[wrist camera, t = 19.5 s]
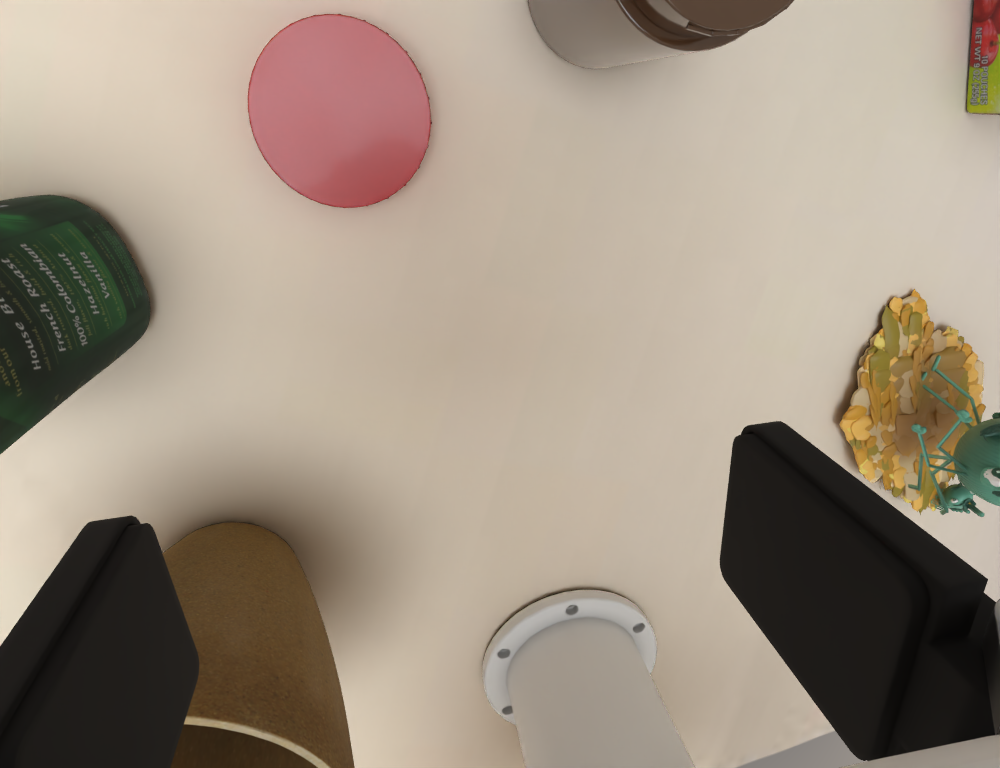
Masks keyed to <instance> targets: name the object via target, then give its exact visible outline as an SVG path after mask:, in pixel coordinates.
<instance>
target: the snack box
mask: <svg viewBox="0 0 1000 768" xmlns="http://www.w3.org/2000/svg"><path fill="white" fill-rule="evenodd" d="M967 111H968V112H969V113H974V114H990V115H1000V0H974V8H973V22H972V38H971V51H970V67H969V81H968V95H967Z"/></svg>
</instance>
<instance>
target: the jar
mask: <svg viewBox="0 0 1000 768" xmlns="http://www.w3.org/2000/svg"><path fill="white" fill-rule="evenodd" d="M793 1H794V0H528V3H529V8H530V12H531V15H532V18H533V21H534V23H535V25H536V28H537V30H538V32H539V33H540V35H541V37H542V38H543V40H544V41H545V42H546V43H547V45H548V46H549V47H550V48H551V49H552V50H553V51H554V52H555V53H556V54H557V55H559V56H560V57H561V58H563V59H564V60H566V61H568V62H570V63H572V64H574V65H577V66H580V67H583V68H589V69H603V68H610V67H616V66H621V65H627V64H633V63H638V62H644V61H649V60H655V59H661V58H666V57H672V56H677V55H683V54H689V53H694V52H700V51H705V50H710V49H714V48H717V47H721V46H723V45H726V44H728V43H730V42H732V41H734V40H736V39H738V38H739V37H741V36H742V35H744V34H746V33H747V32H748V31H749V30H751V29H754V28H757V27H759V26H762V25H764V24H766V23H767V22H768V21H770V20H771V19H773V18H774V17H775V16H777V15H778V14H779V13H781V12H782V11H784V10H785V9H787V8H788V7H789V5H790V4H791V3H792V2H793Z"/></svg>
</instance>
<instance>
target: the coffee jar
mask: <svg viewBox="0 0 1000 768" xmlns="http://www.w3.org/2000/svg"><path fill="white" fill-rule="evenodd" d="M149 319H150V302H149V297H148V293H147V290H146V288H145V285H144V282H143V279H142V277H141V275H140V273H139V271H138V269H137V266H136V264H135V262H134V260H133V258H132V256H131V254H130V253H129V251H128V249H127V247H126V245H125V244H124V242H123V241H122V240H121V238H120V237H119V235H118V234H117V232H116V231H115V230H114V229H113V227H112V226H111V225H110V224H109V222H107V221H106V220H105V219H104V218H103V217H102V216H101V215H100V214H99V213H98V212H96V211H95V210H93V209H91V208H90V207H88V206H87V205H85V204H83V203H81V202H79V201H77V200H74V199H70V198H67V197H62V196H55V195H40V196H30V197H22V198H14V199H8V200H2V201H0V454H1V453H3V452H4V451H5V450H6V449H7V448H8V447H9V446H11V445H12V444H13V443H14V442H15V441H17V440H18V439H19V438H20V437H21V436H23V435H24V434H25V433H26V432H27V431H29V430H30V429H31V428H32V427H33V426H35V425H36V424H37V423H38V422H39V421H41V420H42V419H43V418H44V417H45V416H47V415H48V414H49V413H50V412H52V411H53V410H54V409H55V408H56V407H57V406H59V405H60V404H61V403H62V402H63V401H65V400H66V399H67V398H68V397H70V396H71V395H72V394H73V393H74V392H75V391H77V390H78V389H79V388H81V387H82V386H83V385H84V384H86V383H87V382H88V381H90V380H91V379H92V378H93V377H95V376H96V375H97V374H98V373H100V372H101V371H102V370H103V369H105V368H106V367H108V366H109V365H110V364H111V363H113V362H114V361H115V360H116V359H117V358H119V357H120V356H121V355H122V354H123V353H125V352H126V351H127V350H128V349H129V348H131V347H132V346H133V345H134V344H135V343H136V342H137V341H138V340H139V339H140V338H141V337H142V335H143V334H144V332H145V331H146V329H147V326H148V324H149Z"/></svg>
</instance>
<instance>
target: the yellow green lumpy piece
mask: <svg viewBox="0 0 1000 768" xmlns="http://www.w3.org/2000/svg"><path fill="white" fill-rule="evenodd" d="M889 307H890V309H891V310H890V309H889V308H888V307H887V304H886V308H885V311H884V313H883V315H882V326H883V328H882V329H881V330H880V331H879V332H878V333H877V334H876V335H875V336H874V337H872V338H871V339H870V347H869V348H867V349H866V351H865V353H864V355H863V356H862V357H861V358H860V360H859V365H860V367H861V368H859V370H858V371H857V378H858V389H857V390H856V391H855V392H854V393H853V395H852V398H851V401H850V404H851V406H850V407H849V409H848V411H847V412H846V413H845V414H844V415H843V416H842V420H841V422H840V427H841V428H842V430H843V431H844V433H845V437H846V440H847V441H848V442H849V443H850V445H851V447H852V449H853V451H854V454H855V459H856V462H857V465H858V468H859V472H860V473H861V474H863V476H864V477H865V478H866V479H868V480H869V482H871V483H874V482H876V481H877V480H878V479H879V478H880V477H882V478H883V484H884V487H885V490H886V489H887V490H888V489H890V490H892V495H893V496H894V497H896V498H897V497H898V496H899V495H900V497H901V498H902V499H904V501H905V502H907V503H911V505H912V508H913V509H914V510H916V511H917V513H918V510H919V512H920V515H921V512H922V510H923V509H926V507H927V506H928V507H929V508H931V509H932V511H935V510H936V508H937V507H939V508H941V507H943V508H944V509H943V508H941V509H943V510H941V509H939V508H937V509H939V510H941V511H940V513H941V514H942V515H944V514H945V513H948V508H949V509H951V510H952V511H956V512H958V511H959V512H963V511H964V512H966V513H968V514H969V513H970V511H969V510H968V508H969V509H971V510H972V511H973V512H974V513H976V514H977V515H978V516H980V517H983V516H984V513H983V512H981V511H980V510H979V509H977V508H976V507H975V505H976V503H975V502H974V501H973V495H977V496H979V497H980V498H982V499H984V500H985V501H987V502H989V503H992V504H994V505H997V506H1000V413H994V414H993V415H992V417H993V419H990V420H987V421H983V422H981V418H982V414H983V412H984V410H985V405H984V404H982V403H981V400H982V393H981V392H982V391H983V386H982V385H983V375H984V366H983V362H982V361H980V360H977V359H978V356H977V354H975V353H974V352H973V351H972V347H971V346H970V345H969V344H966V343H964V337H962V336H960V337H958V330H956V329H953V328H951V327H949V326H948V327H947V329H946V331H945V332H943V333H942V334H941V332H942V331H941V330H939V329H937V330H935V331H934V332H933V330H934V323H933V322H931V321H930V318H929V316H928V313H927V304H926V301H925V300H923V299H922V298H921V297H920V295H919V293H918V292H916V291H915V289H914V290H913V292H912V294H911V296H908V297H906V298H904V299H901V298H896V297H894V298H893V299H892V300H891V301H890V304H889ZM963 344H964V345H963ZM955 474H957V475H958V480H959V479H960V480H959V481H960V483H959V484H954V485H950V486H949V484H948V482H949V481H950V479H951V477H952V479H953V478H954V476H955ZM880 481H881V480H880ZM961 482H962V483H963V485H964V486H963V485H962V483H961ZM946 487H947V488H946ZM880 489H881V488H880ZM940 506H941V507H940Z"/></svg>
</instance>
